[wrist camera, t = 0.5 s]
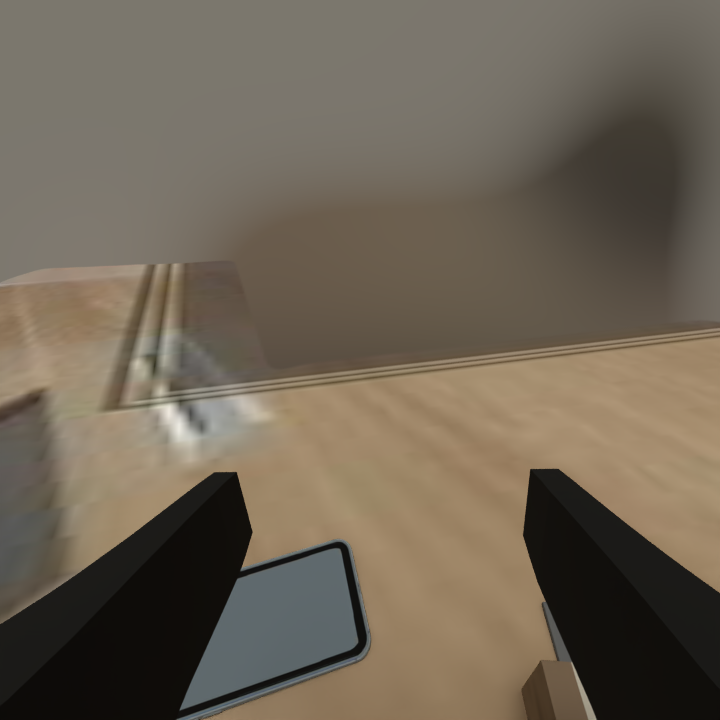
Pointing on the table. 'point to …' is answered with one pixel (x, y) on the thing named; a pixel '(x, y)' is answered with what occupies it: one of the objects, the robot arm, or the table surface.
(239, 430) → the table surface
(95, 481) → the table surface
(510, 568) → the table surface
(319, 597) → the smartphone
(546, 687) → the brown wooden block
